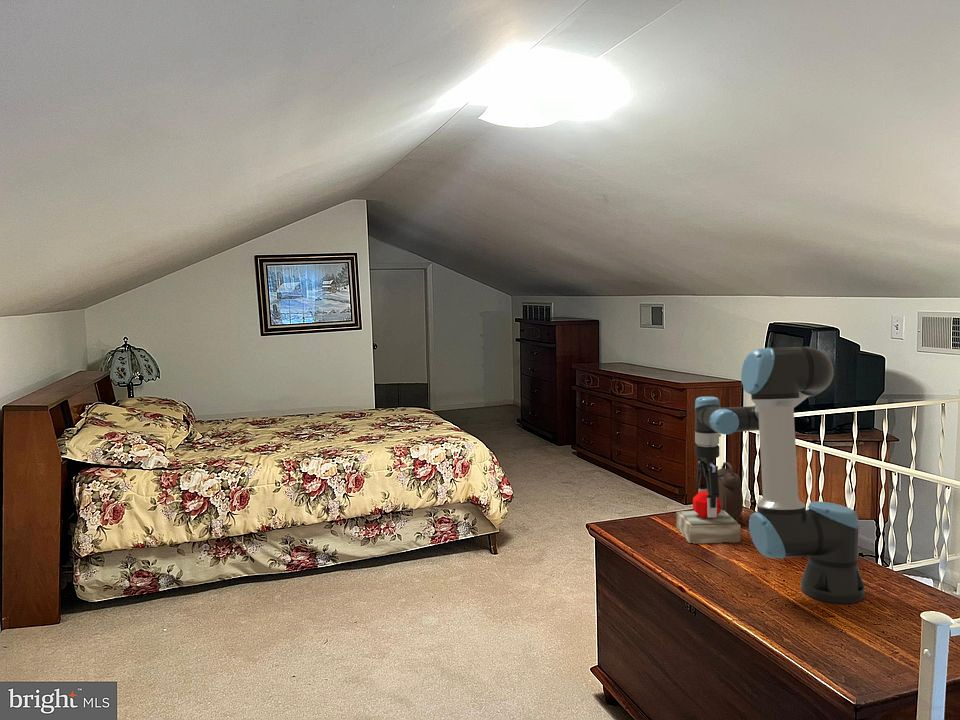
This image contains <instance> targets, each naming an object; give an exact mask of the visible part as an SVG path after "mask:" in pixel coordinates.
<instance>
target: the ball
mask: <svg viewBox="0 0 960 720" xmlns="http://www.w3.org/2000/svg"><path fill="white" fill-rule="evenodd" d="M706 496H709V495H708V491H707V492H699V491H698V492H697V494H696V495H694V497H693V498H692V511H695V512H696V513H697V514H699V515H700V516H701V517H702V518H715V517H708V510H707V497H706ZM720 512H721V500H719V499H718V498H717V515H718V514H719V513H720Z"/></svg>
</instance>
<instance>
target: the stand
mask: <svg viewBox="0 0 960 720" xmlns="http://www.w3.org/2000/svg"><path fill="white" fill-rule="evenodd" d="M675 513H676V529H677V530H678V531H679V533H682V534H681V535H682V536H683V537H684V539H686V541H687V542H688V543H689V544H690V543H693V544H718V543H719V544H723V543H722V542H729V543H741V535H742V534H741V532H742V531H741V527H742V526H741V524H740V523H739V521H738V522H737V521H736V519H735V518H732V517H731V516H730V515H729V514H727V513H726V512H725V511H724V510H721V512H720V513H719V514H718V515H717V517H715V518H702V517H701V516H700V515H699V514H697V513H696V512H695V511H694V510H680V511H676V512H675Z"/></svg>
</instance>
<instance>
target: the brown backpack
mask: <svg viewBox="0 0 960 720" xmlns="http://www.w3.org/2000/svg"><path fill="white" fill-rule="evenodd" d="M722 463H723V464H722V465H721V468H718V485H719V497H717V498H718V499H719V500H721V510H724V511H725V512H726V513H727V514H729V515H730V516H731V517H732V518H733V519H735V521H736V522H738V523H739V517H741V515H742V512H743V508H744V496H743V495H744V494H743V489H742V486H741V477H740V476H739V475H738V473H735V472H734V469H733V466H732V464H731V463H729V462H725V461H724V462H722ZM727 467H728V468H727Z"/></svg>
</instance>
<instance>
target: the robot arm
mask: <svg viewBox="0 0 960 720" xmlns="http://www.w3.org/2000/svg"><path fill="white" fill-rule="evenodd" d="M740 374H741V375H740V376H741V377H740V379H741V385H742V388H743V390H744V392H746V393H747V394H749V395H751V396H750V397H751V402H753V403H754V405H753V406H736V407H735V406H733V407H732V406H731V407H722V406H721V404H720V399H719V397H716V396H699V397H697V398H696V399H695V403H694V426H695V427H694V432H695V433H694V443H695V445H694V446H695V447H694V450H695V452H694V453H695V457H697V470H696V483H695V484H696V486H697V489H698V493H699V492H708V495H709V496H706V497H707V510H708V517H717V497H719V485H718V470H719V466H718V465H716V463H715V460H714V459H718V458H719V457H720V450H721V449H720V445H719V444H720V437H721V436H722V435H725V436H726V435H732V434H733V433H735V432H736V433H737V432H750V431H751V432H752V431H753V432H754V431H759V432H758V433H759V434H758V435H759V449H760V452H759V453H760V465H761V466H760V468H761V486H762V487H761V488H762V498H761V500H759V501H758V503H757V504H756V508H757V509H756V510H757V511H755V512H753V513H752V514H750V516H749V520H748V529H749V534H750V537H751V540H752V543H753V545H754V546H755V548H756V550H757V551H758V552H759V553H760V555H762V556H763V557H764V558H766V559H767V558H768V559H781V560H782V559H786V558H799V557H808V560H807V563H806V566H805V568H804V571H803V574H802V577H801V580H800V589H801V591H802V592H803V593H804V594H805V595H806V596H808V597H810V598H813V599H816V600H819V601H822V602H827V603H831V604H833V603H834V604H854V603H859V602H861V601H862V600H864V599H865V596H866V594H865V593H866V592H865V591H866V588H865V587H866V586H865V585H864V581H863V579H862V576H861V572H860V569H859V564H858V563H859V562H858V560H859V559H858V557H859V530H860V526H859V516H858V513H857V512H856V511H855V510H854V509H852V508H850V507H848V506H845V505H841V504H838V503H832V502H827V501H811V502H810V503H809V504H808V506H807V507H808V508H807V509H806V504H805V503H804V502H803V501H801V499H800V497H799V486H798V485H799V484H798V480H799V479H798V467H797V464H798V462H797V449H796V447H797V446H796V430H795V408H796V407H797V406H799V405H800V404H801V403H802V402H803V401H804V402H805V400H806V399H807V398H809V397H814V396H817V395H819V394H821V393H823V391H825V390H826V389H827V388H828V387H829V386H830V385H831V383H832V381H833V378H834V365H833V363H832V361H831V359H830V358H829V357H828V356H827V354H826V353H824V352H823V351H821V350H820V349H818V348H815V347H812V346H799V347H797V346H793V347H790V346H789V347H765V348H757V349H756V348H755V349H753V350H751V351H750V352H749V353H748V354H747V355H746V357H745V359H744V360H743V363H742V367H741V373H740Z"/></svg>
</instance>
